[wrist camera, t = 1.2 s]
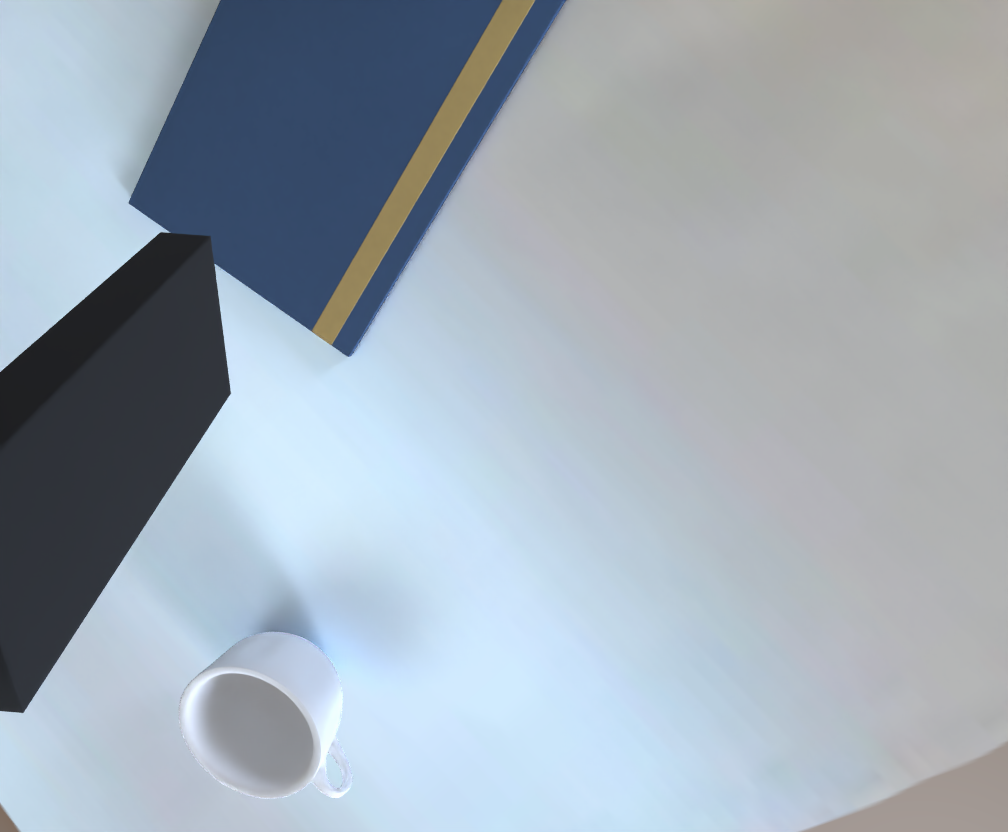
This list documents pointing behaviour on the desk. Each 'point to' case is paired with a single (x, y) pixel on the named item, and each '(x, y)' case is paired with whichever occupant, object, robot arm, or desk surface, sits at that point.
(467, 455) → the desk surface
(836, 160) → the desk surface
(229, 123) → the blue flat rectangular block
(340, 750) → the teacup
